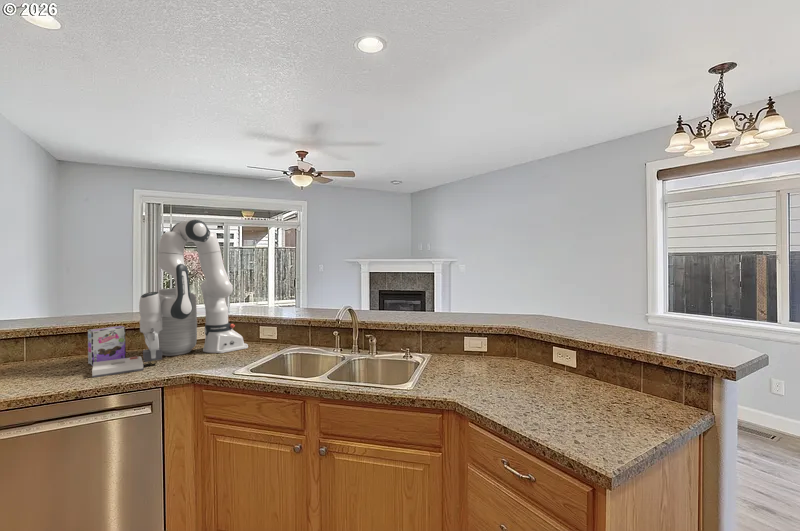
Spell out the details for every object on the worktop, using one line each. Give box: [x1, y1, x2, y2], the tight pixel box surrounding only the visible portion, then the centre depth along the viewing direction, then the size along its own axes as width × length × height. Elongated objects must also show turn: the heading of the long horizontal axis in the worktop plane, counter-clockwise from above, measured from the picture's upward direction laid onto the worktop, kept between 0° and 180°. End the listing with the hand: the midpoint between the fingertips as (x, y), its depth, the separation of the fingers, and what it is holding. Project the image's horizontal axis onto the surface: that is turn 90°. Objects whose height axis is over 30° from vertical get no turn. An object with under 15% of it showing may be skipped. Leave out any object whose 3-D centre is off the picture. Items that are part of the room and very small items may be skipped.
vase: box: [158, 287, 198, 357], centre depth 209 cm, size 20×20×34 cm
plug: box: [142, 348, 163, 365], centre depth 186 cm, size 7×6×7 cm
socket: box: [91, 355, 144, 379], centre depth 178 cm, size 18×16×4 cm
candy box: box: [87, 325, 127, 367], centre depth 191 cm, size 14×6×16 cm, turn 143°
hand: (152, 356), depth 186 cm, fingers closed on plug, 5 cm apart
